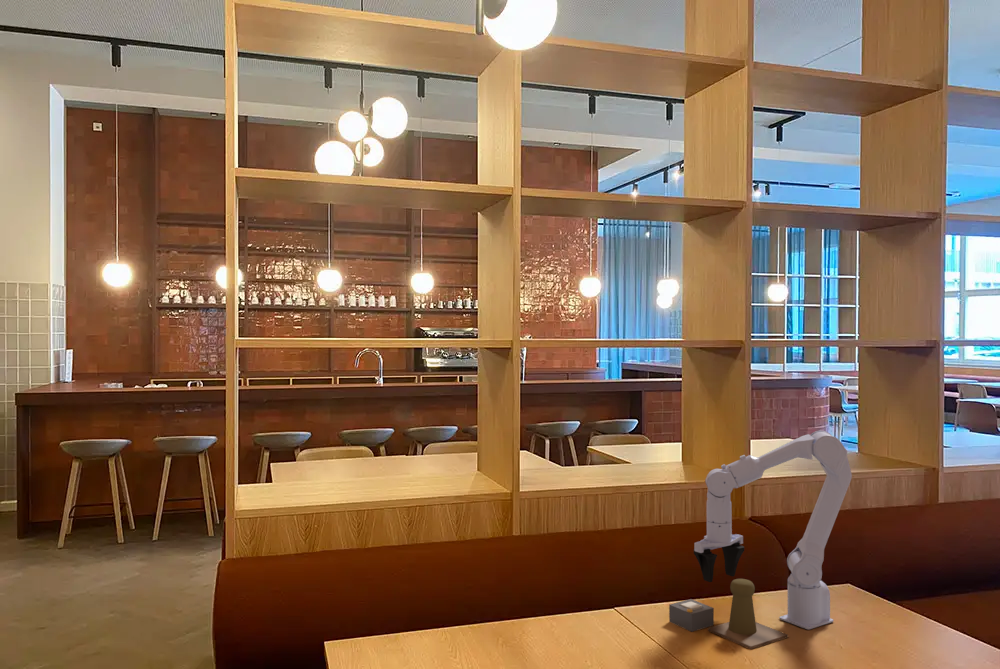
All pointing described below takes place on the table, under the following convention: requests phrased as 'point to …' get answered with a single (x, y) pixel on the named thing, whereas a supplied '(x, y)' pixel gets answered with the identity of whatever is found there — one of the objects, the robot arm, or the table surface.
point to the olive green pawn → (742, 607)
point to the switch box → (691, 616)
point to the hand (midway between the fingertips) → (719, 578)
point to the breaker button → (691, 605)
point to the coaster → (752, 640)
